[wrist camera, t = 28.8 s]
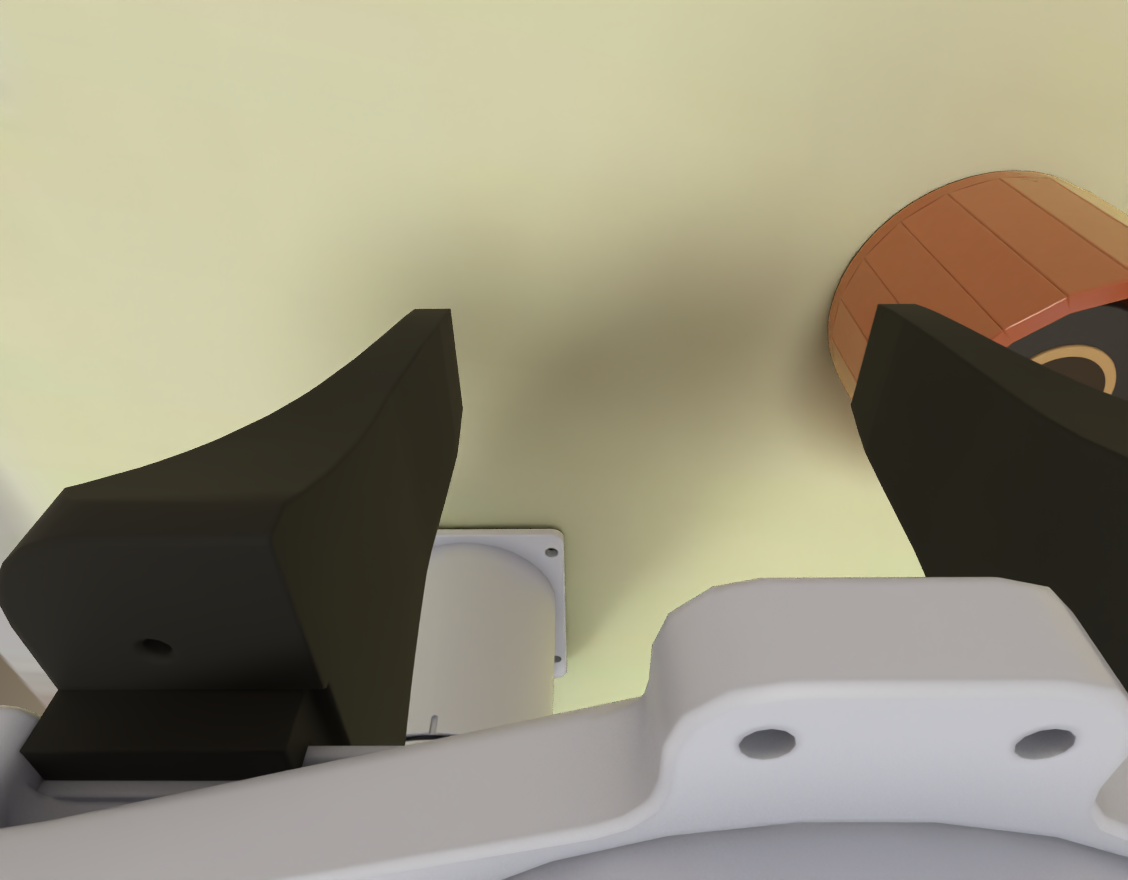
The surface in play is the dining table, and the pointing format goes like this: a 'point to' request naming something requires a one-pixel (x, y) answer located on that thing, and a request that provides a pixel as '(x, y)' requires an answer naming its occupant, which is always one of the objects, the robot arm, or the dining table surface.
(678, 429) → the dining table surface
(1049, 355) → the tape roll
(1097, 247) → the pen cup
